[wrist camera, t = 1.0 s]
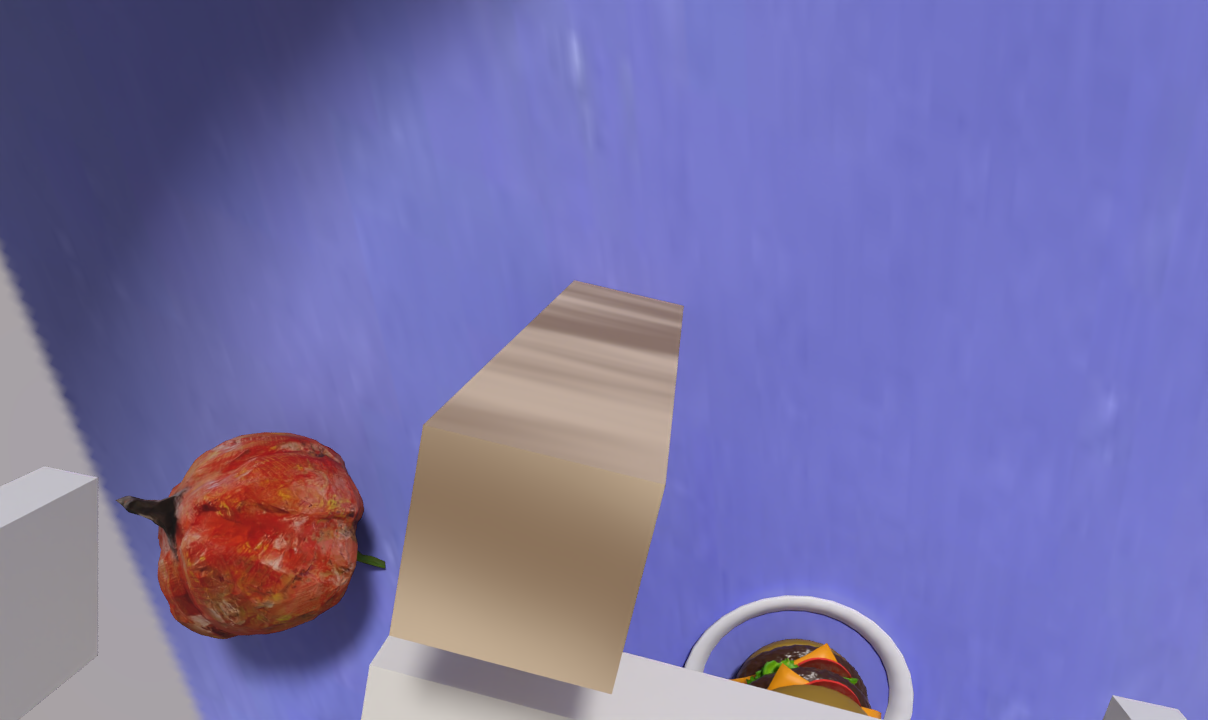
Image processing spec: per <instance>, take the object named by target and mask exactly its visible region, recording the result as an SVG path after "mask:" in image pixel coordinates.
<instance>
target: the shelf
mask: <svg viewBox="0 0 1208 720" xmlns="http://www.w3.org/2000/svg"><path fill="white" fill-rule="evenodd" d="M361 720H882V719H878V718H874V717H870V716H866V715H862V714H859V713H855V712H851V711H847V710H843V709H839V708H836V707H832V706H828V705H824V704H820V703H816V702H813V701H809V700H805V699H801V698H797V697H793V696H790V695H786V694H782V693H778V692H774V691H770V690H767V689H763V688H759V687H755V686H751V685H747V684H744V683H740V682H736V681H732V680H728V679H724V678H721V677H717V676H713V675H709V674H705V673H701V672H698V671H694V670H690V669H686V668H682V667H678V666H675V665H671V664H667V663H663V662H659V661H655V660H652V659H648V658H644V657H640V656H636V655H632V654H629V653H625V652H622V656H621V660H620V664H619V668H618V672H617V676H616V680H615V684H614V688H613V692H612V694H608V693H604V692H601V691H597V690H593V689H589V688H585V687H582V686H578V685H574V684H570V683H567V682H563V681H559V680H555V679H551V678H548V677H544V676H540V675H536V674H533V673H529V672H525V671H521V670H517V669H514V668H510V667H506V666H502V665H499V664H495V663H491V662H487V661H483V660H480V659H476V658H472V657H468V656H465V655H461V654H457V653H453V652H449V651H446V650H442V649H438V648H434V647H431V646H427V645H423V644H419V643H415V642H412V641H408V640H404V639H400V638H397V637H393V636H388V638H387V639H386V641H385V642H384V644H383V645H382V647H381V648H380V650H379V651H378V653H377V655H376V656H375V658H374V659H373V661H372V662H371V664H370V666H369V673H368V679H367V686H366V692H365V699H364V705H363V711H362V718H361Z"/></svg>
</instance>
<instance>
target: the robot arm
mask: <svg viewBox="0 0 1208 720" xmlns="http://www.w3.org/2000/svg"><path fill="white" fill-rule="evenodd" d="M96 656H98V477H94V476H89V475H84V474H80V473H75V472H71V471H66V470H61V469H56V468H52V467H47V466H43V467H41V468H39V469H37V470H35V471H32V472H30V473H28V474H26V475H24V476H22V477H19V478H17V479H15V480H13V481H11V482H8V483H6V484H4V485H2V486H0V720H19V719H20V718H21V717H23V716H24V715H25V714H26V713H28V712H29V711H30V710H31V709H32V708H34V707H35V706H36V705H37V704H39V703H40V702H41V701H42V700H44V699H45V698H46V697H47V696H48V695H50V694H51V693H52V692H53V691H55V690H56V689H57V688H58V687H60V686H61V685H62V684H63V683H64V682H66V681H67V680H68V679H69V678H71V677H72V676H73V675H74V674H75V673H77V672H78V671H79V670H80V669H82V668H83V667H84V666H85V665H87V664H88V663H89V662H90V661H91V660H93V659H94V658H95V657H96ZM1103 720H1187V719H1186V718H1185V717H1184V716H1183V714H1182V713H1181V712H1180V711H1179V710H1178V709H1174V708H1169V707H1165V706H1160V705H1155V704H1151V703H1146V702H1141V701H1137V700H1132V699H1127V698H1123V697H1118V696H1113V695H1112V698H1111V700H1110V703H1109V706H1108V708H1107V711H1106V713H1105V716H1104V718H1103Z"/></svg>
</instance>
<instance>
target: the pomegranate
mask: <svg viewBox="0 0 1208 720" xmlns="http://www.w3.org/2000/svg"><path fill="white" fill-rule="evenodd" d="M116 501H117V502H119V503H120V504H121V505H122V506H123V507H124V508H125V509H126V510H127V511H128V512H130V513H133V514H137V515H141V516H143V517H145V518H148V519H150V520H152V521H153V522H154V523H155V524H157V525H158V526H159V533H158V539H159V545H160V548H161V554H160V559H159V562H158V580H159V584H160V588H161V590H162V592H163V594H164V596H165V597H166V599H167V601H168V603H169V605H170V611H171V613H172V615H173V617H174V618H175V620H177V621H178V622H179V623H181V624H182V625H183V626H185V627H187V628H188V629H190V630H192V631H194V632H196V633H199V634H201V635H204V636H209V637H213V638H218V639H228V638H231V637H234V636H238V635H253V634H270V633H275V632H280V631H283V630H287V629H289V628H292V627H295V626H298V625H300V624H303V623H305V622H308V621H311V620H313V619H315V618H316V617H317V616H318V615H320V614H322V613H323V612H325V611H327V610H328V609H330V608H331V607H333V606H335V605H336V604H337V603H338V602H339V601H340V600H341V599H342V597H343V596H344V594H345V592H346V590H347V587H348V585H349V582H350V579H351V577H352V574H353V572H354V570H355V567H356V561H359V562H362V563H366V564H370V565H373V566H377V567H381V568H385V562H384V561H382V560H380V559H378V558H375V557H373V556H368V555H363V554H361V553H360V552H359V551H358V550H357V549H358V543H357V539H356V528H357V523H358V521H359V520H360V519H361V517H362V514H363V511H364V507H363V500H362V498H361V496H360V494H359V491H358V489H357V488H356V486H355V484H354V482H353V481H352V479H351V477H350V476H349V475H348V472H347V470H346V467H345V463H344V461H343V460H342V458H341V456H340V455H339V454H337V453H336V452H335V451H333V450H332V449H331V448H329V447H327V446H324V445H322V444H320V443H319V442H318V441H316V440H314V439H310V438H307V437H304V436H300V435H296V434H292V433H268V432H264V433H256V434H248V435H241V436H238V437H235V438H233V439H230V440H227V441H225V442H223V443H221V444H220V445H218V446H216V447H215V448H213V449H212V450H209V451H206V452H205V453H204V454H202V455H201V456H200V457H198V458H197V459H196V460H195V461H194V463H193V464H192V466H191V467H190V469H189V470H188V472H187V473H186V475H185V477H184V478H183V480H182V482H181V483H180V484H178V485H177V486H175V487H174V488H173V489H172V491H171V493H170V495H169V497H168V498H165V499H162V500H144V499H140V498H136V497H132V496H126V497H123V498H120V499H118V500H116Z"/></svg>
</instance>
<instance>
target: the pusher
mask: <svg viewBox="0 0 1208 720" xmlns="http://www.w3.org/2000/svg"><path fill="white" fill-rule="evenodd" d="M683 307H684V306H682V305H678V304H673V303H669V302H665V301H661V300H656V299H652V298H648V297H643V296H639V295H635V294H631V293H626V292H622V291H618V290H613V289H609V288H605V287H601V286H596V285H592V284H588V283H583V282H579V281H575V280H574V281H573V282H572V283H571V284H570V285H569V286H568V287H567V288H566V289H565V290H564V291H563V292H562V293H561V294H560V295H559V296H558V297H557V298H555V299H554V300H553V301H552V302H551V303H550V304H549V305H548V306H547V307H546V308H545V309H544V310H543V311H542V312H541V313H540V314H539V315H538V316H537V317H536V318H535V319H534V320H532V321H531V322H530V323H529V324H528V325H527V326H526V327H525V328H524V329H523V330H522V331H521V332H520V333H519V334H518V335H517V336H516V337H515V338H514V339H513V340H512V341H510V342H509V343H508V344H507V345H506V346H505V347H504V348H503V349H502V350H501V351H500V352H499V353H498V354H497V355H496V356H495V357H494V358H493V359H492V360H491V361H490V362H489V363H487V364H486V365H485V366H484V367H483V368H482V369H481V370H480V371H479V372H478V373H477V374H476V375H475V376H474V377H473V378H472V379H471V380H470V381H469V382H468V383H467V384H466V385H464V386H463V387H462V388H461V389H460V390H459V391H458V392H457V393H456V394H455V395H454V396H453V397H452V398H451V399H450V400H449V401H448V402H447V403H446V404H445V405H444V406H442V407H441V408H440V409H439V410H438V411H437V412H436V413H435V414H434V415H433V416H432V417H431V418H430V419H429V420H428V421H427V422H426V423H425V424H424V425H423V430H422V436H421V442H420V448H419V455H418V461H417V467H416V473H415V479H414V485H413V492H412V498H411V504H410V510H409V516H408V523H407V529H406V535H405V541H404V547H403V553H402V560H401V566H400V572H399V578H398V584H397V591H396V597H395V603H394V609H393V615H392V621H391V628H390V634H389V636H393V637H397V638H400V639H404V640H408V641H412V642H415V643H419V644H423V645H427V646H431V647H434V648H438V649H442V650H446V651H449V652H453V653H457V654H461V655H465V656H468V657H472V658H476V659H480V660H483V661H487V662H491V663H495V664H499V665H502V666H506V667H510V668H514V669H517V670H521V671H525V672H529V673H533V674H536V675H540V676H544V677H548V678H551V679H555V680H559V681H563V682H567V683H570V684H574V685H578V686H582V687H585V688H589V689H593V690H597V691H601V692H604V693H608V694H612V692H613V688H614V684H615V680H616V676H617V672H618V668H619V664H620V660H621V656H622V652H623V649H624V645H625V641H626V637H627V633H628V629H629V625H630V621H631V617H632V613H633V609H634V606H635V602H636V598H637V594H638V590H639V586H640V582H641V578H642V574H643V570H644V566H645V563H646V559H647V555H648V551H649V547H650V543H651V539H652V535H653V531H654V527H655V523H656V520H657V516H658V512H659V508H660V504H661V500H662V496H663V492H664V488H665V484H666V474H667V464H668V454H669V444H670V435H671V425H672V415H673V405H674V395H675V386H676V376H677V366H678V356H679V346H680V336H681V327H682V317H683Z"/></svg>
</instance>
